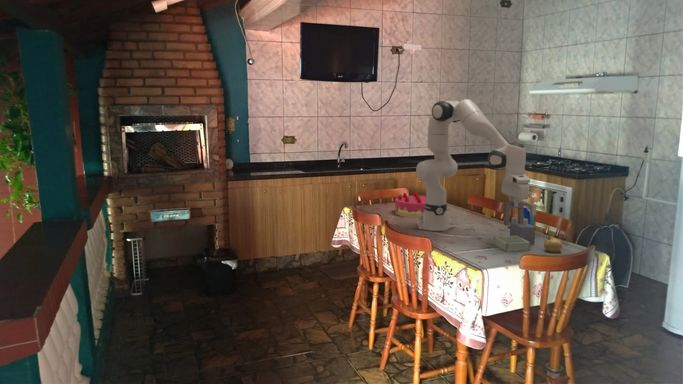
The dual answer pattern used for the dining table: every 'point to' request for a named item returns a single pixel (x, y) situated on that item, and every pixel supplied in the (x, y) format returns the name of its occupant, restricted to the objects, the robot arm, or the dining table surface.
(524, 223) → the vise
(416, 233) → the dining table surface
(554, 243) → the onion
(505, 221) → the loose hook
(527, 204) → the clamped hook
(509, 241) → the bin
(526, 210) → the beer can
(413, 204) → the cake
